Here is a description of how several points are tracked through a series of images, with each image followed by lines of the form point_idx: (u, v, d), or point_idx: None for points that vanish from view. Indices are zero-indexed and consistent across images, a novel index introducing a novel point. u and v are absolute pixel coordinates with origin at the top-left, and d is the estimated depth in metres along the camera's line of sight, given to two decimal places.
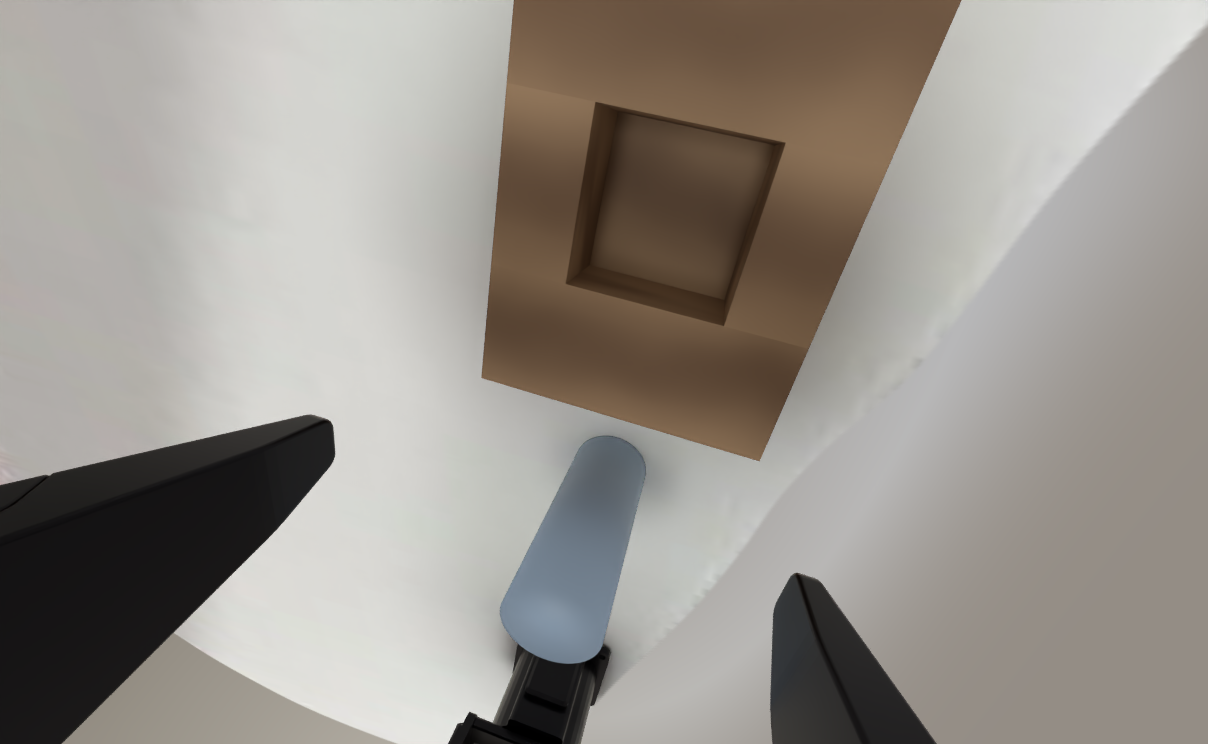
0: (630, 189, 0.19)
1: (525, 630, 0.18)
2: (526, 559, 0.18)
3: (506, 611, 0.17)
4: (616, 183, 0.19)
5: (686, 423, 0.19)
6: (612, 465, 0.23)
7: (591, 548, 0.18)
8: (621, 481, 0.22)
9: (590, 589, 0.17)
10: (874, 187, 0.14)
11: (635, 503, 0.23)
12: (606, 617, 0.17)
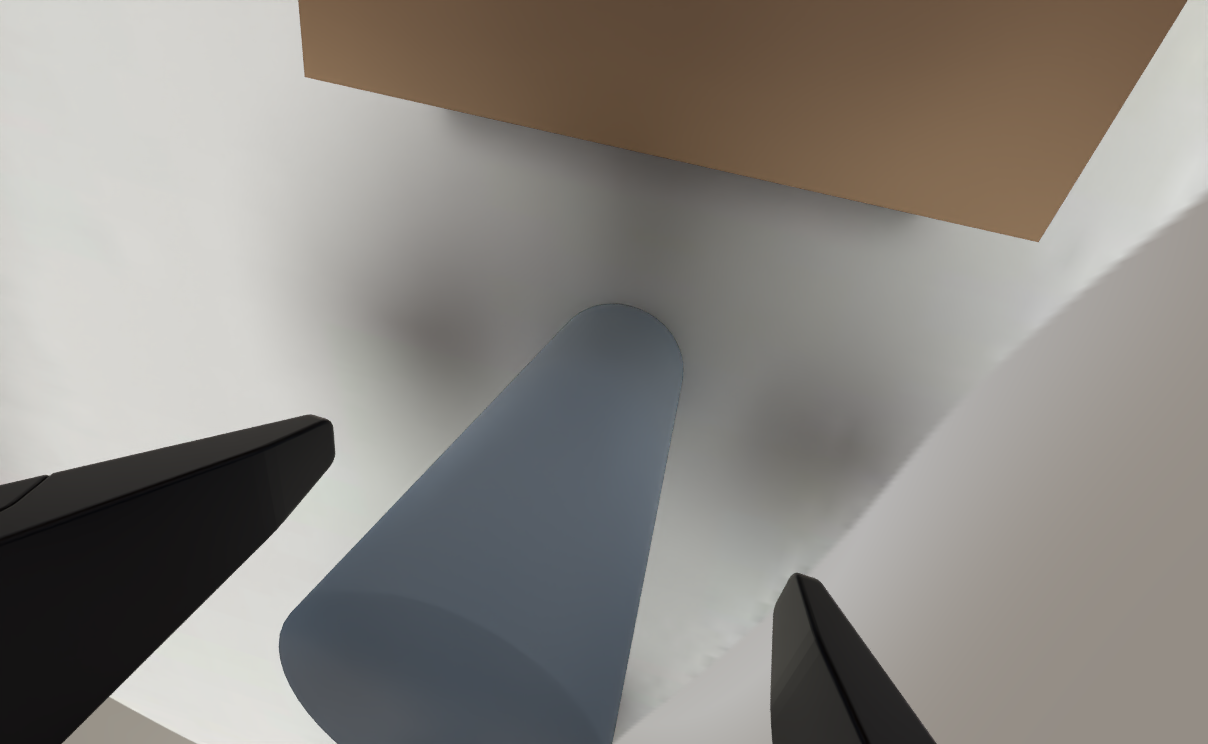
0: None
1: (366, 725, 0.06)
2: (386, 513, 0.06)
3: (299, 670, 0.06)
4: None
5: (835, 141, 0.07)
6: (623, 338, 0.11)
7: (571, 483, 0.06)
8: (642, 364, 0.10)
9: (562, 602, 0.05)
10: None
11: (671, 414, 0.11)
12: (615, 692, 0.05)
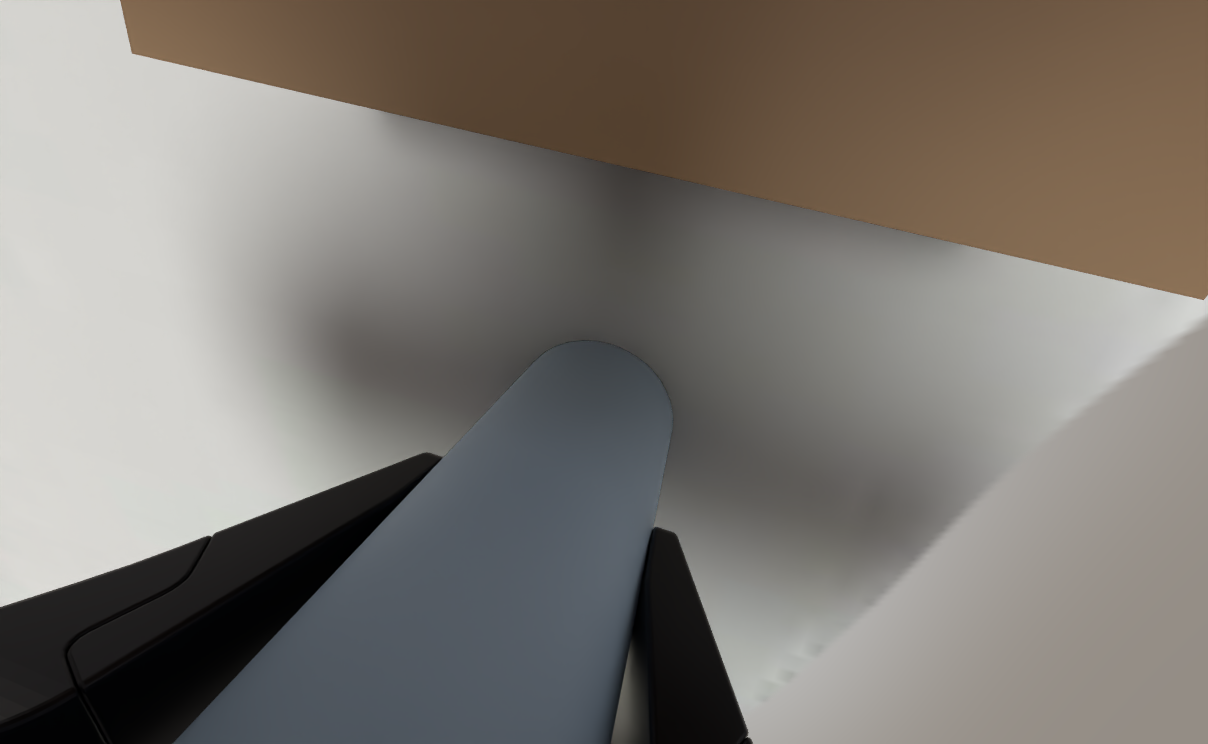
0: None
1: None
2: (186, 731, 0.04)
3: None
4: None
5: (890, 144, 0.04)
6: (593, 393, 0.09)
7: (476, 685, 0.04)
8: (616, 430, 0.08)
9: None
10: None
11: (654, 492, 0.08)
12: None
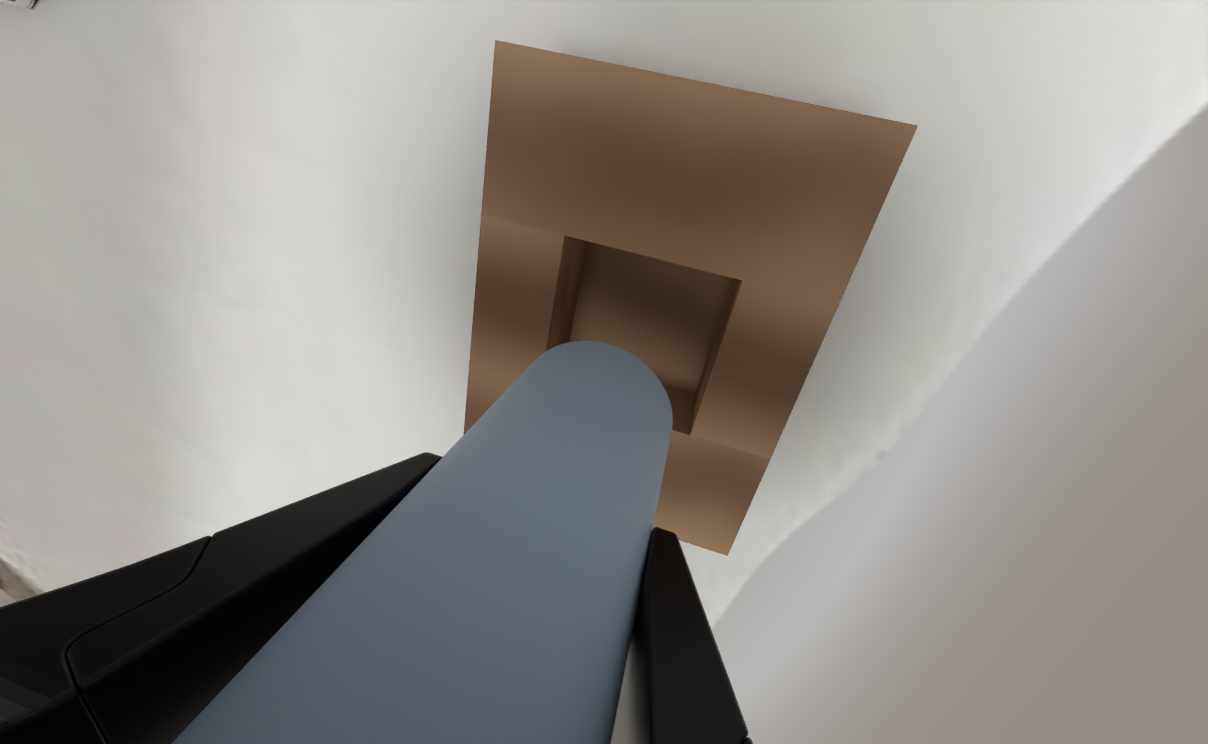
0: (604, 292, 0.20)
1: None
2: (180, 735, 0.04)
3: None
4: (590, 286, 0.20)
5: (657, 519, 0.19)
6: (592, 393, 0.09)
7: (473, 688, 0.04)
8: (616, 430, 0.08)
9: None
10: (825, 323, 0.15)
11: (654, 493, 0.08)
12: None
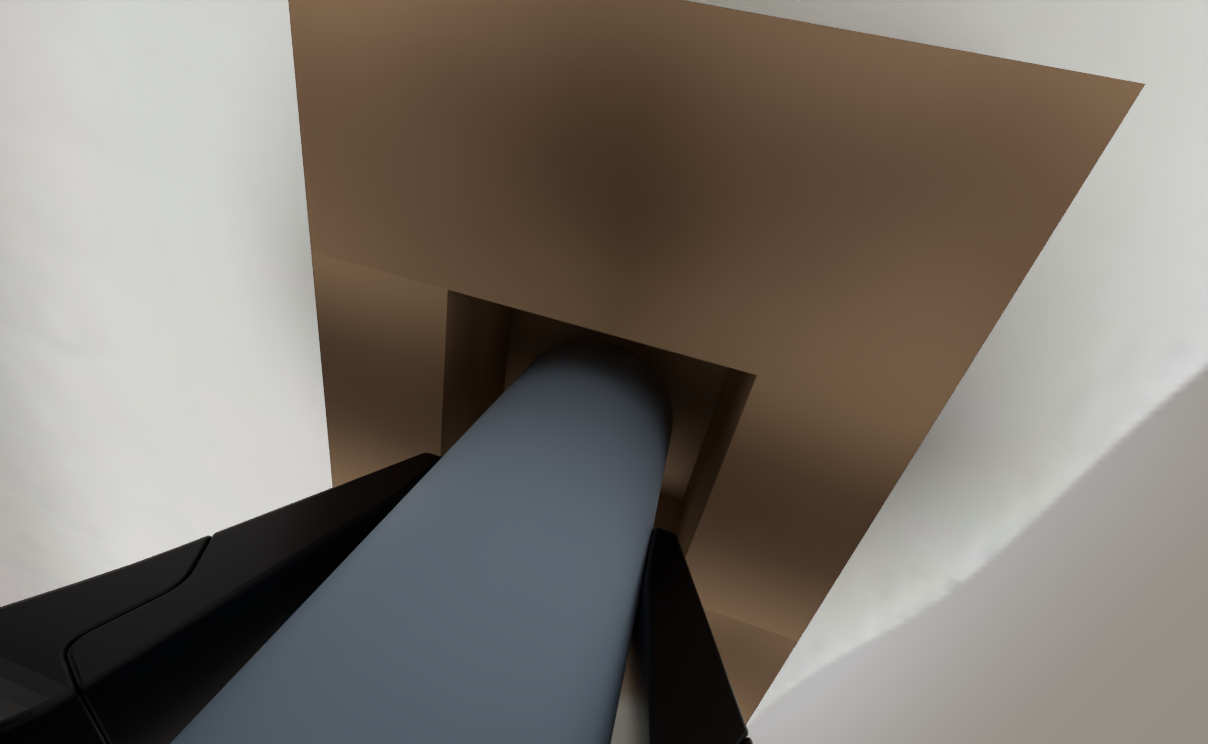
0: None
1: None
2: (179, 735, 0.04)
3: None
4: (524, 347, 0.13)
5: None
6: (592, 392, 0.09)
7: (473, 689, 0.04)
8: (616, 430, 0.08)
9: None
10: (906, 452, 0.08)
11: (654, 492, 0.08)
12: None
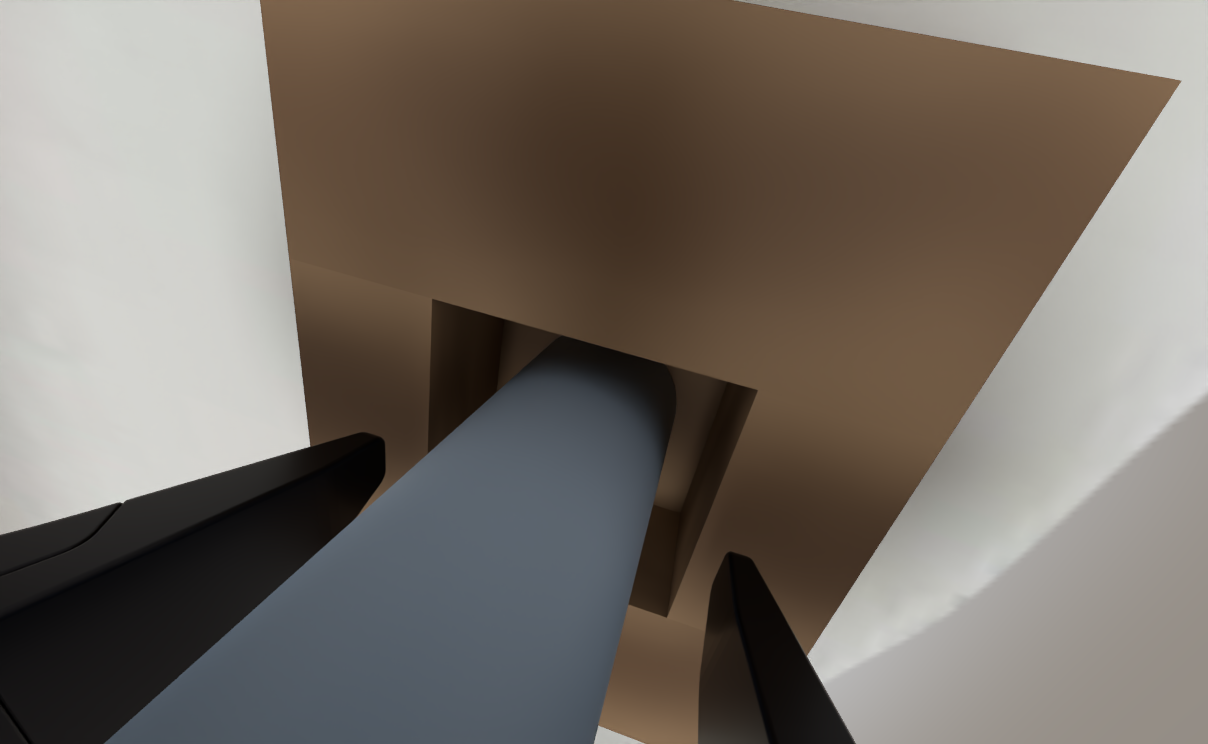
0: None
1: None
2: None
3: None
4: (517, 355, 0.13)
5: (620, 717, 0.12)
6: (603, 367, 0.10)
7: (502, 573, 0.05)
8: (623, 399, 0.09)
9: None
10: (916, 471, 0.08)
11: (658, 459, 0.09)
12: None
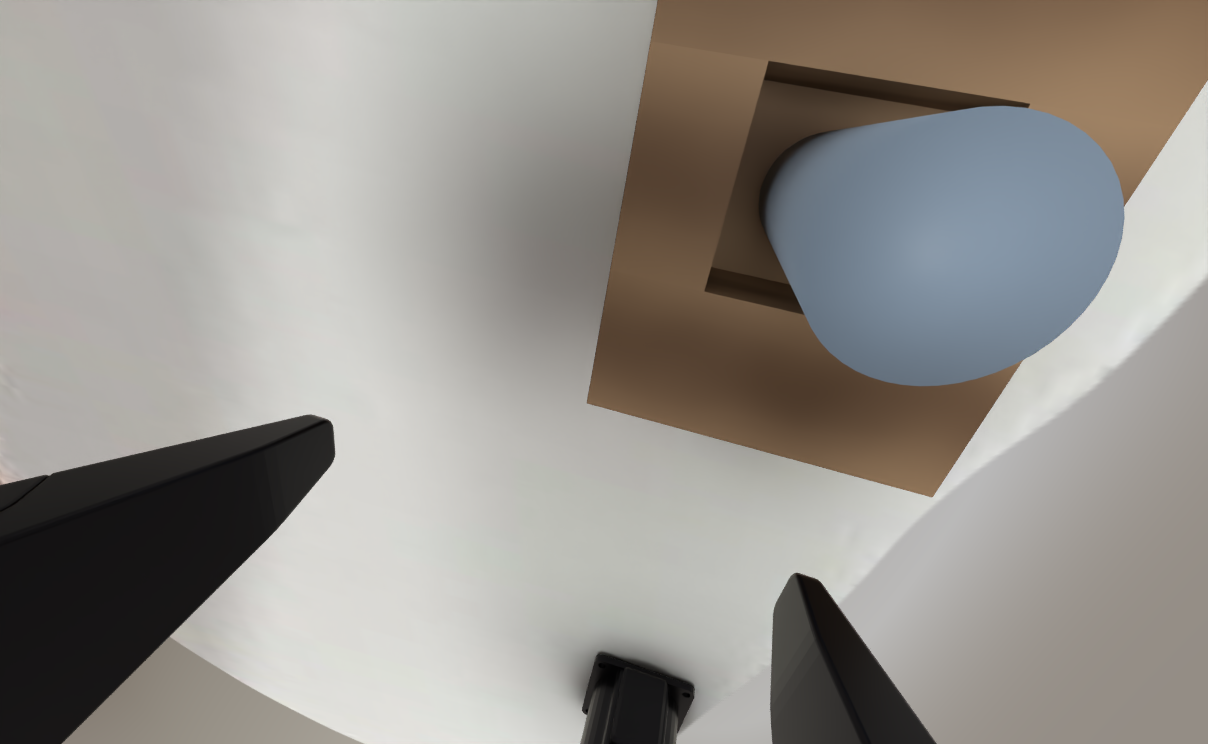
0: None
1: (861, 296, 0.07)
2: (831, 163, 0.08)
3: (823, 242, 0.07)
4: (750, 167, 0.16)
5: (843, 454, 0.15)
6: None
7: None
8: None
9: None
10: (1148, 158, 0.11)
11: None
12: None
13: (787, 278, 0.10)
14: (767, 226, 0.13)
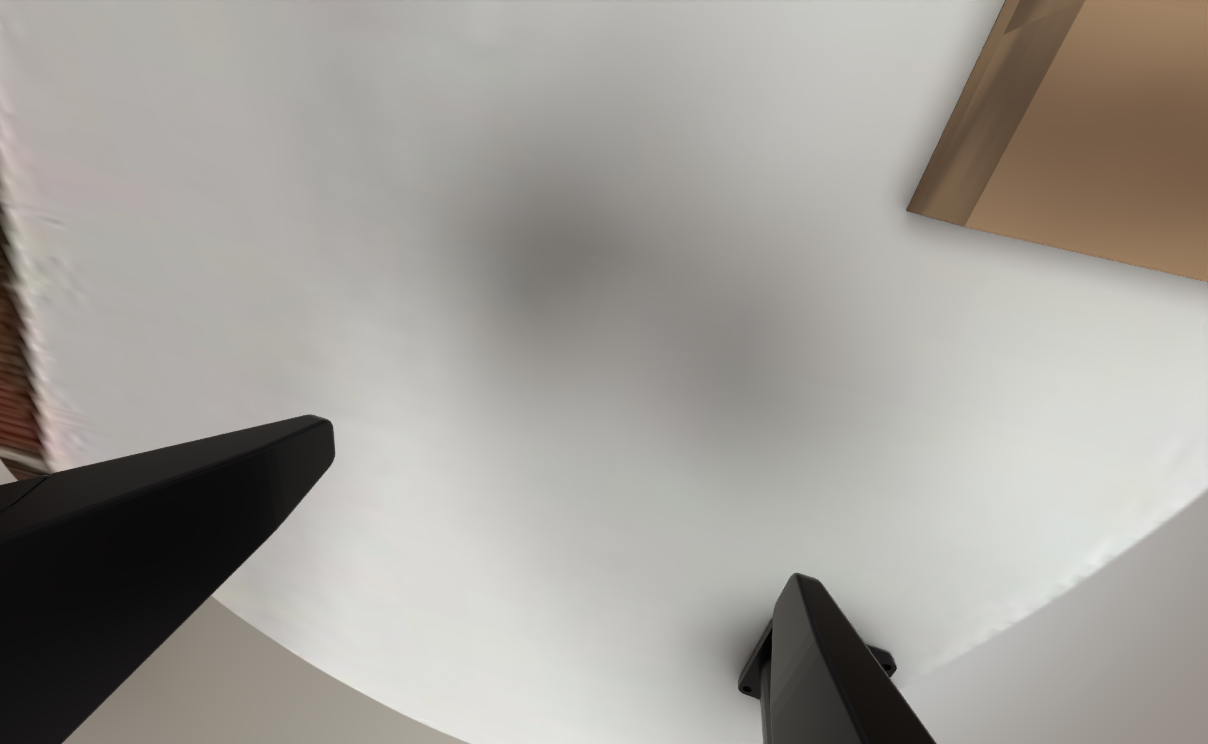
0: None
1: None
2: None
3: None
4: None
5: None
6: None
7: None
8: None
9: None
10: None
11: None
12: None
13: None
14: None
